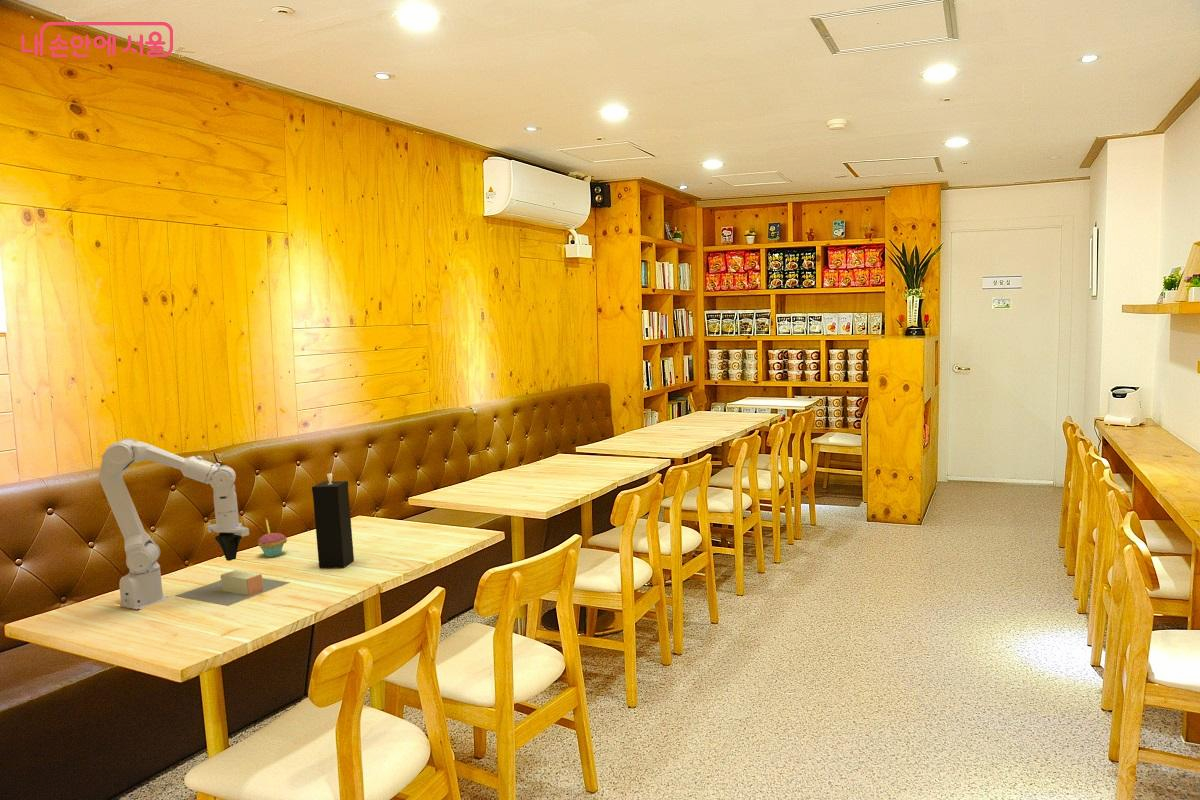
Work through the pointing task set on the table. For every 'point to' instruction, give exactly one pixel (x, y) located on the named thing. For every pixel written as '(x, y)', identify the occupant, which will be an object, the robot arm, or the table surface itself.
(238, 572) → the sage block
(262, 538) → the cupcake
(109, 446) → the robot arm
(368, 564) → the table surface
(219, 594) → the rubber mat
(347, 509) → the black pillar candle
